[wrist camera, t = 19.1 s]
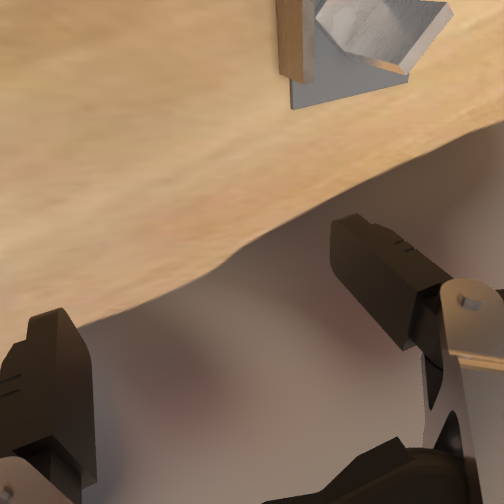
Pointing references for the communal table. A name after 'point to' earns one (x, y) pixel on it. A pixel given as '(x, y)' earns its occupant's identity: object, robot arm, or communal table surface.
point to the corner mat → (338, 75)
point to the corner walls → (296, 39)
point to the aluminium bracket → (383, 29)
